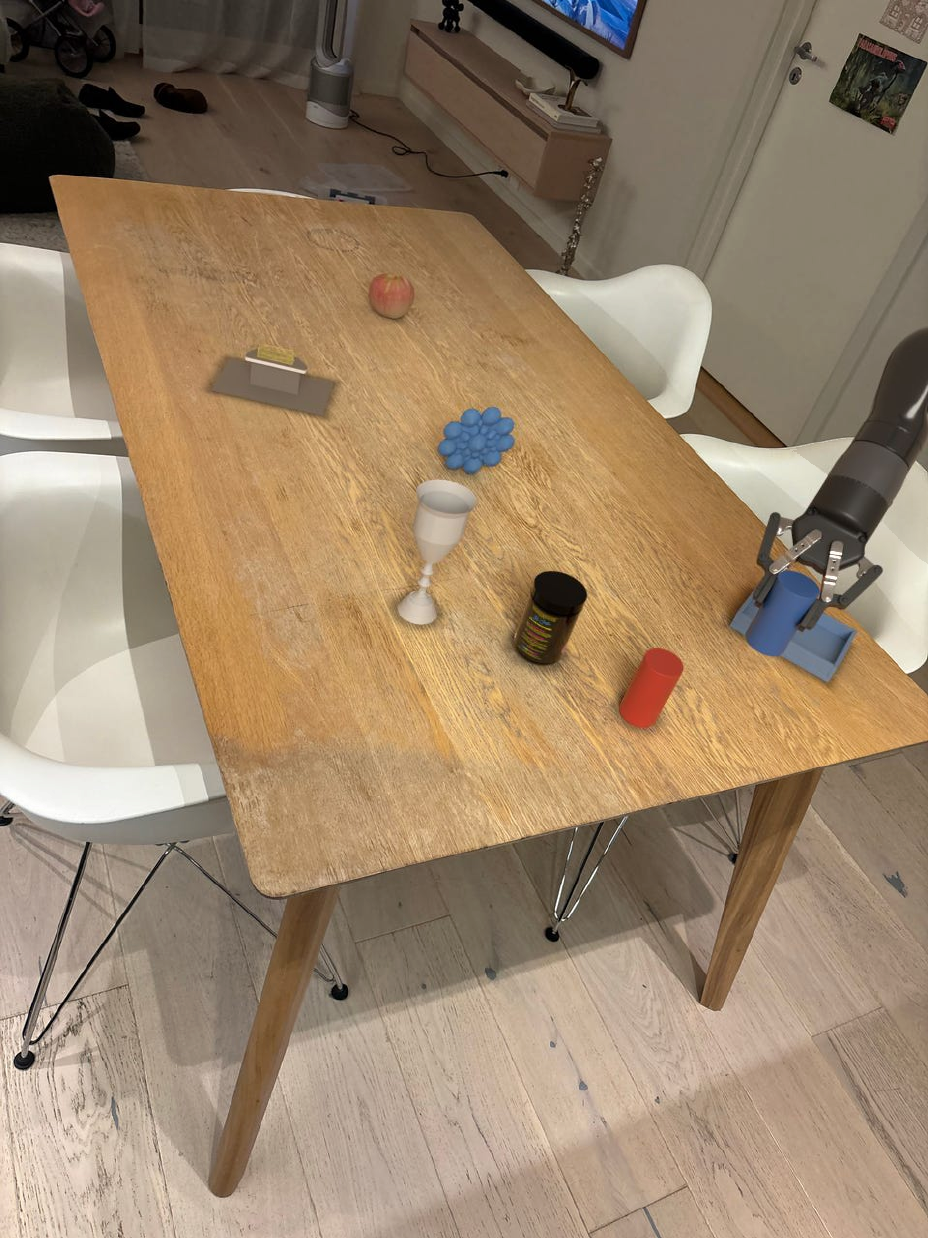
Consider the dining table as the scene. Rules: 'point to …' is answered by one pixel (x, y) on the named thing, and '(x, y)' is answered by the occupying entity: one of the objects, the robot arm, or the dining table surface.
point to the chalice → (435, 538)
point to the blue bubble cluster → (476, 440)
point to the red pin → (651, 687)
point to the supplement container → (549, 617)
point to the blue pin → (782, 613)
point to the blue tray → (807, 641)
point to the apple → (391, 295)
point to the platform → (274, 381)
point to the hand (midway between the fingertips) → (779, 617)
